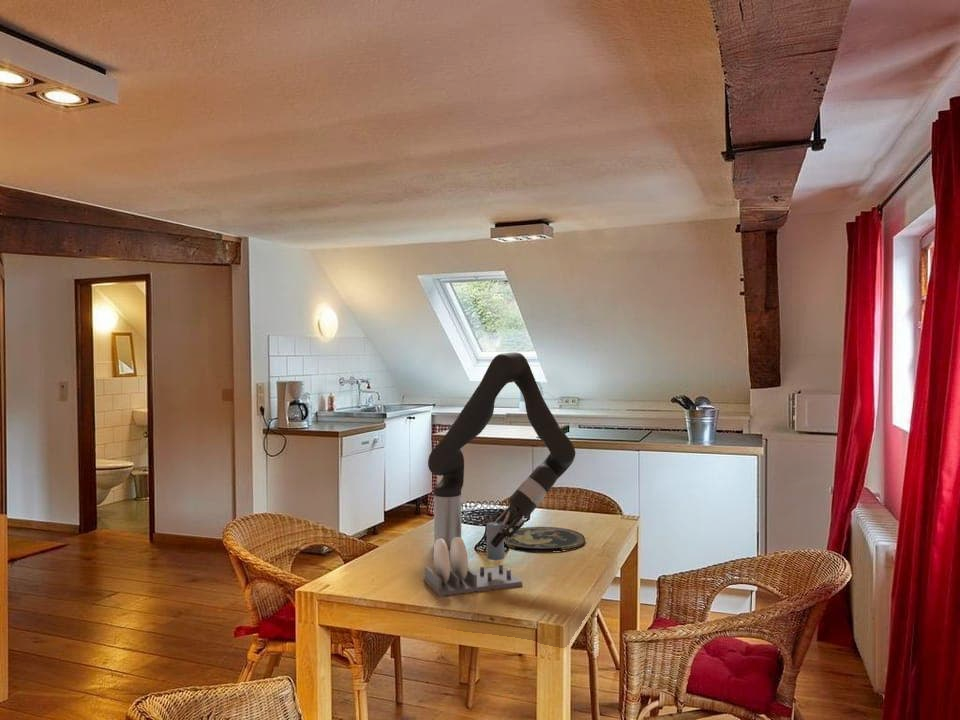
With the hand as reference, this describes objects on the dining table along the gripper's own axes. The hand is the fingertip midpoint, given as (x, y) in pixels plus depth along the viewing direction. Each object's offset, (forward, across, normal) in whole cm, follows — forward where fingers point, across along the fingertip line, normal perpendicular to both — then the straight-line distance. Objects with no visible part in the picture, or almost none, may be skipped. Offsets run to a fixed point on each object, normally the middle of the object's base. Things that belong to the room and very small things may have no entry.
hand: (489, 542), depth 203 cm
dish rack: (+11, 0, +4) cm, 12 cm away
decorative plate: (-15, -34, +31) cm, 49 cm away
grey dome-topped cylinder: (+2, 0, +4) cm, 5 cm away
